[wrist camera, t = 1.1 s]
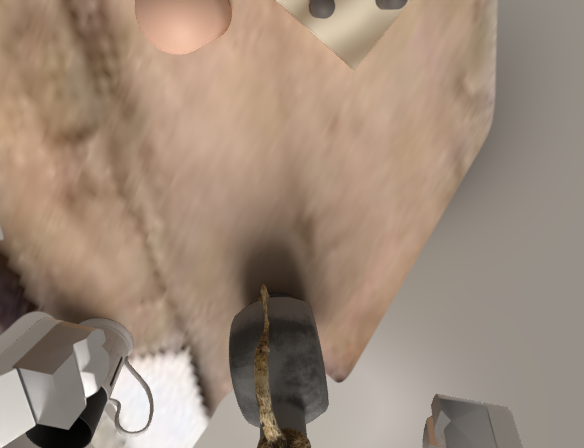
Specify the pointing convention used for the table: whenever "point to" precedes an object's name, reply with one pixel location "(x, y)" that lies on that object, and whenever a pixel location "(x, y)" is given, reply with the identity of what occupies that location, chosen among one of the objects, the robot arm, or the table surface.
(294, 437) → the pitcher
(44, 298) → the table surface
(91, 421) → the glass holder
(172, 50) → the post
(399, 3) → the peg stand
